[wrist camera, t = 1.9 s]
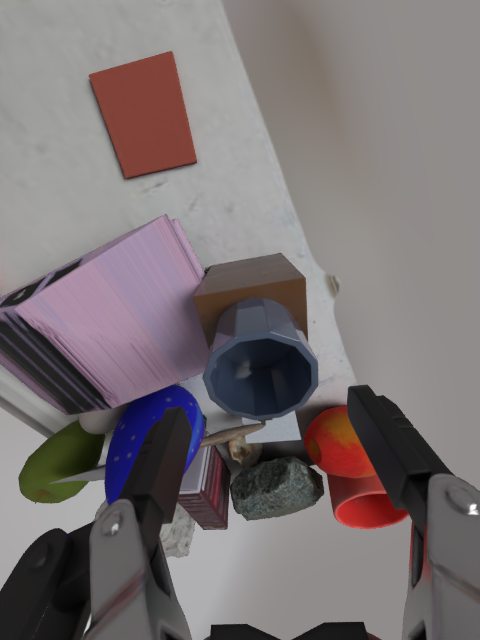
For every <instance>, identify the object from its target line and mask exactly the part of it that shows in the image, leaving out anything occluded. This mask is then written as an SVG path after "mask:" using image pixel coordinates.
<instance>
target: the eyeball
mask: <svg viewBox="0 0 480 640" xmlns="http://www.w3.org/2000/svg"><path fill="white" fill-rule="evenodd" d="M127 408H128V404H127V403H125V404H122V405H120V406H117V407H115V408H112V409H108V410H101V411H94V412H86V413H79V422H80V425H81V427H82V428H83V429H84V430H85V431H86V432H88V433H91V434H104V433H108V432H110V431H112V430H114V429H115V428H116V426H117V424H118V422H119V420H120V418H121V417H122V415H123V413H124V412H125V411H126V409H127Z"/></svg>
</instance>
